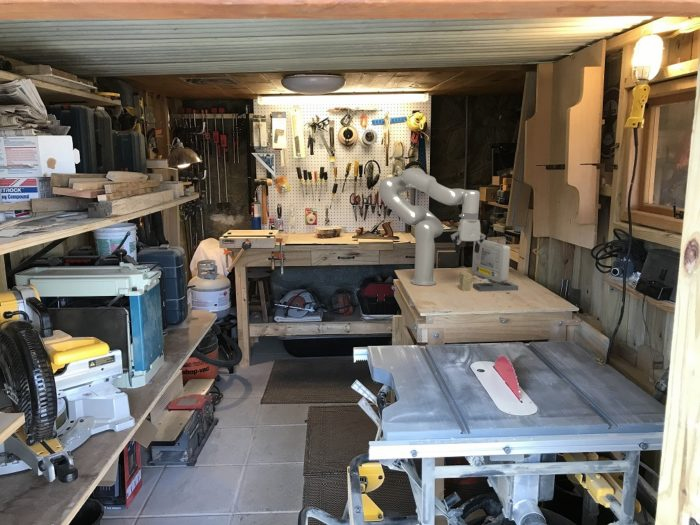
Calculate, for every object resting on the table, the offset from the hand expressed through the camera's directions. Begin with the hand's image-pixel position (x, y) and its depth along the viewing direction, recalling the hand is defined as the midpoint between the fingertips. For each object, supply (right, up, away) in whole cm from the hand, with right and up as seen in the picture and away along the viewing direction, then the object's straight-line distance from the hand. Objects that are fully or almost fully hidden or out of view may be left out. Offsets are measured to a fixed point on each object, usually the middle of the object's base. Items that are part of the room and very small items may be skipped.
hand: (467, 252), depth 259 cm
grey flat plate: (+15, -17, +7) cm, 24 cm away
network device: (+16, -14, +25) cm, 33 cm away
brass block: (0, -18, +4) cm, 18 cm away
